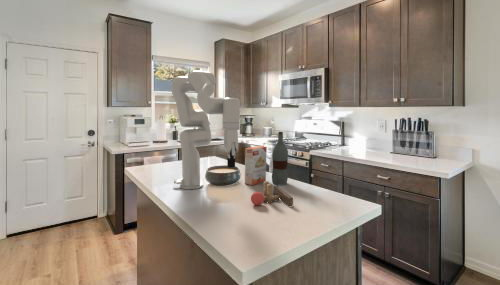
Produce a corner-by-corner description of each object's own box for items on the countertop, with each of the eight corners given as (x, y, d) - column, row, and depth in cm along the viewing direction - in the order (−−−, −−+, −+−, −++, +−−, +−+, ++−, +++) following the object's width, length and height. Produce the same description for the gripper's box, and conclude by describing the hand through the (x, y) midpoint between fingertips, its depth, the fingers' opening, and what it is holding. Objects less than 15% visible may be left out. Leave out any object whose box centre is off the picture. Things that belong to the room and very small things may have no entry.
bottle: (286, 181, 169) (287, 131, 166) (288, 185, 160) (290, 132, 157) (270, 181, 169) (271, 131, 165) (272, 185, 160) (273, 132, 156)
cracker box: (252, 185, 159) (253, 149, 156) (244, 184, 162) (244, 148, 160) (266, 180, 170) (267, 146, 167) (258, 179, 174) (258, 145, 171)
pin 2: (267, 203, 130) (268, 185, 129) (266, 202, 132) (266, 184, 131) (272, 203, 130) (273, 185, 129) (271, 201, 133) (271, 183, 132)
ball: (263, 208, 128) (250, 206, 129) (265, 195, 131) (252, 194, 132) (262, 202, 123) (249, 201, 124) (264, 190, 126) (251, 188, 127)
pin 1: (264, 200, 135) (264, 182, 134) (262, 198, 137) (263, 181, 136) (269, 199, 135) (269, 182, 134) (267, 198, 138) (267, 181, 137)
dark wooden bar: (288, 206, 126) (288, 198, 125) (273, 193, 145) (273, 186, 144) (292, 206, 126) (293, 197, 126) (277, 193, 145) (277, 185, 145)
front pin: (262, 198, 131) (279, 197, 133) (260, 195, 133) (277, 194, 135) (261, 202, 132) (279, 201, 134) (260, 199, 134) (277, 198, 136)
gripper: (220, 125, 131) (220, 164, 133) (225, 127, 117) (225, 171, 119) (236, 125, 133) (236, 163, 135) (243, 127, 119) (243, 170, 121)
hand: (231, 167), depth 127 cm, fingers closed
